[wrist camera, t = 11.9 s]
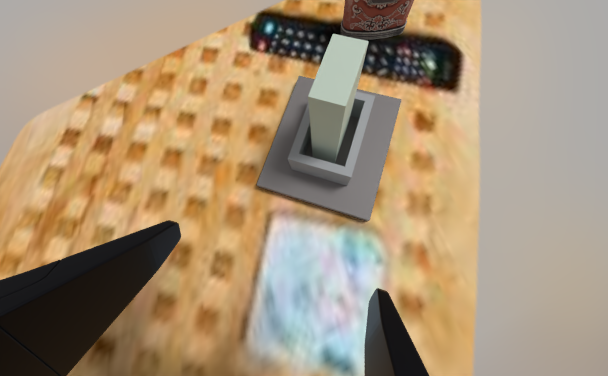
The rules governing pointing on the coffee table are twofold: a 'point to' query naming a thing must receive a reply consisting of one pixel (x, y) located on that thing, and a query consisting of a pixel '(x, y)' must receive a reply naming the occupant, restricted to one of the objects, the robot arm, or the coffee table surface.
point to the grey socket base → (349, 163)
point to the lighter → (374, 18)
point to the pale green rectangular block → (334, 95)
